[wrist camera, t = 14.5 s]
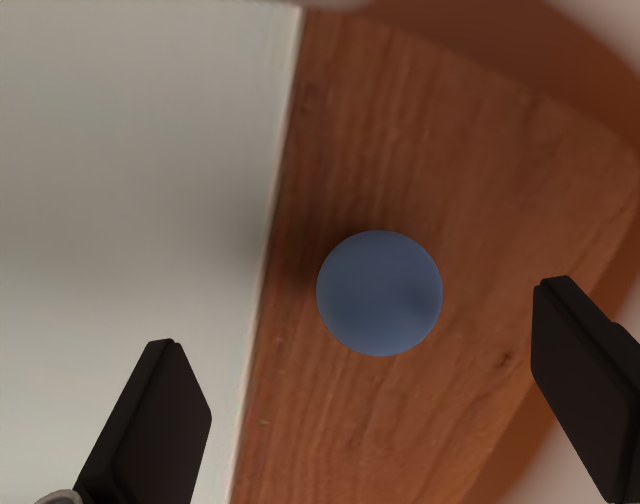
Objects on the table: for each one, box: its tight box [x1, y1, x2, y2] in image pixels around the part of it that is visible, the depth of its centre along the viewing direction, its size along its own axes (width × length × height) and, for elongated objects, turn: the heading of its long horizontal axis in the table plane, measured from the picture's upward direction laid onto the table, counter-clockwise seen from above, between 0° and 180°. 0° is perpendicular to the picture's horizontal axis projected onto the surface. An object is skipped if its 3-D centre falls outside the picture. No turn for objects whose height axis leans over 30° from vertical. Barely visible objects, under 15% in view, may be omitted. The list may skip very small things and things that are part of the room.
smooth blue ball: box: [316, 230, 443, 356], centre depth 13 cm, size 4×4×4 cm
